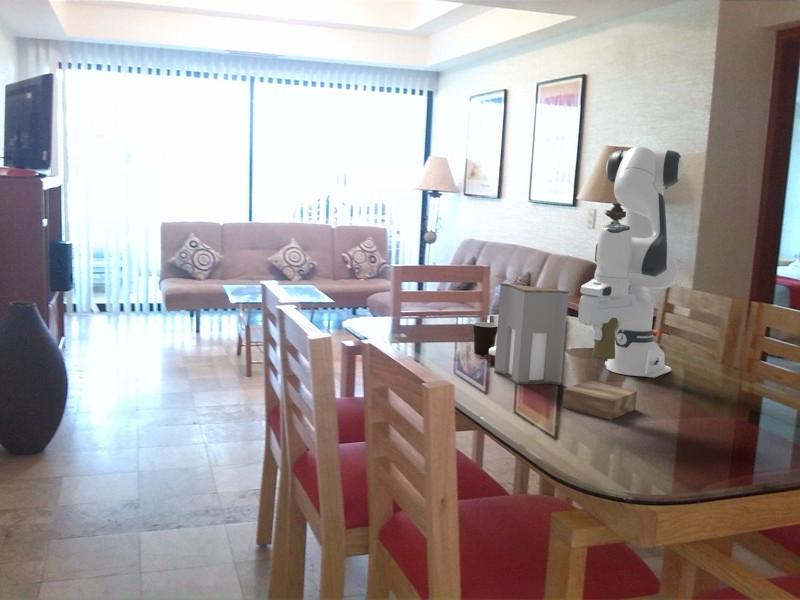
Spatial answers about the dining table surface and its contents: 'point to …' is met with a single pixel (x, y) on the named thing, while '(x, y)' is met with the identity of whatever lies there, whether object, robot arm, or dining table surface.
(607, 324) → the cork
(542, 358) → the cabinet
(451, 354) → the dining table surface
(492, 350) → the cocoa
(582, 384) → the wooden block
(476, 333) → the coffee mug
